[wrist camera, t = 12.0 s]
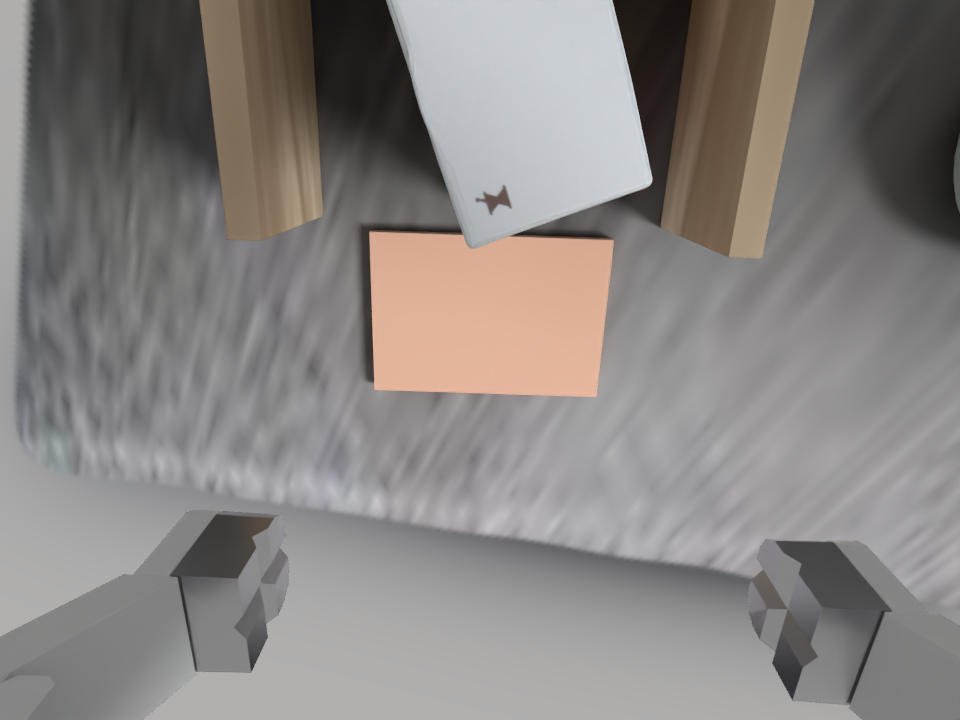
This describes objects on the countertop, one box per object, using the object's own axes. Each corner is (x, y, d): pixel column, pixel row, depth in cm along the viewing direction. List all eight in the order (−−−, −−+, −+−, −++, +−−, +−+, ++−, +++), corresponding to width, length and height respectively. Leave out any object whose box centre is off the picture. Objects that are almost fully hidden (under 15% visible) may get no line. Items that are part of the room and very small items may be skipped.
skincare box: (573, 173, 23) (660, 194, 12) (473, 207, 23) (464, 259, 12) (530, 8, 21) (586, -158, 10) (422, 49, 21) (354, -64, 10)
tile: (611, 238, 24) (614, 240, 23) (593, 391, 26) (596, 396, 26) (372, 229, 24) (369, 231, 23) (376, 384, 26) (374, 389, 26)
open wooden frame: (728, -59, 20) (847, -160, 14) (684, 228, 24) (762, 258, 17) (277, -76, 20) (177, -187, 13) (299, 215, 24) (227, 239, 17)
